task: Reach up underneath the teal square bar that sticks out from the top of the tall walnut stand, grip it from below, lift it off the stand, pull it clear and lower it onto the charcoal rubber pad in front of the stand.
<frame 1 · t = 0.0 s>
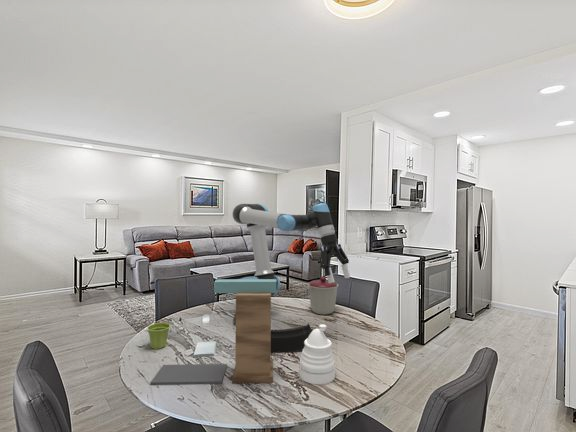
hand: (339, 280, 139), 28 cm above the table, tool tilted 20°, fingers open, 13 cm apart
pad: (191, 374, 109), on the table
honey pot: (317, 375, 110), on the table
teal square bar: (245, 291, 110), point 30 cm above the table, touching stand
magazine: (282, 351, 128), on the table
plant pot: (158, 346, 132), on the table
stand: (253, 373, 110), on the table
canister: (322, 312, 179), on the table
hard drive: (205, 351, 129), on the table
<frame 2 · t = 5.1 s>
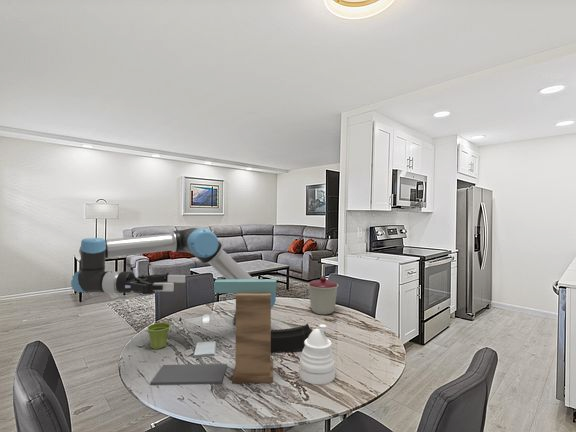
hand: (179, 282, 111), 33 cm above the table, tool horizontal, fingers open, 13 cm apart
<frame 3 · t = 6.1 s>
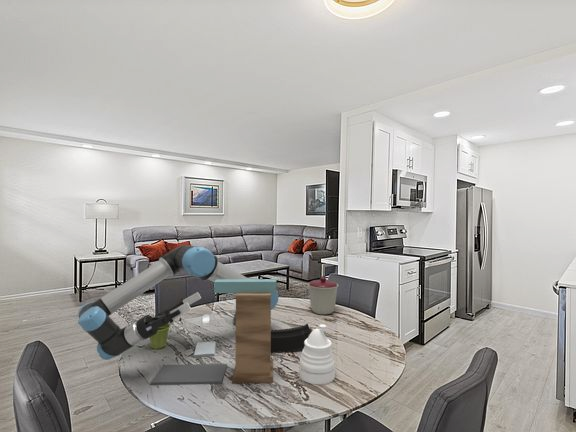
hand: (194, 300, 109), 27 cm above the table, tool pointing upward, fingers open, 13 cm apart
nothing on the table moved.
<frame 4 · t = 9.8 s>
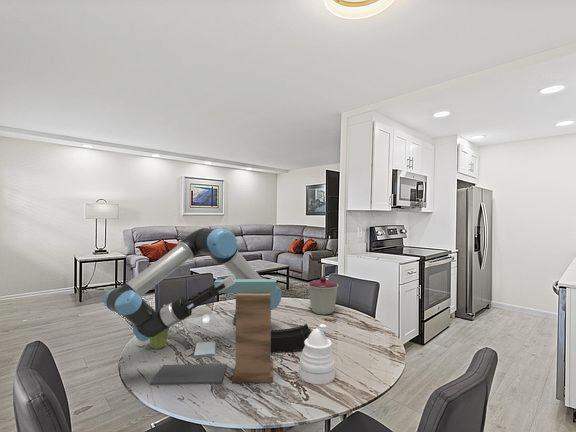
hand: (233, 278, 109), 35 cm above the table, tool pointing upward, fingers closed on teal square bar, 4 cm apart
teal square bar: (245, 291, 110), point 30 cm above the table, touching gripper, stand
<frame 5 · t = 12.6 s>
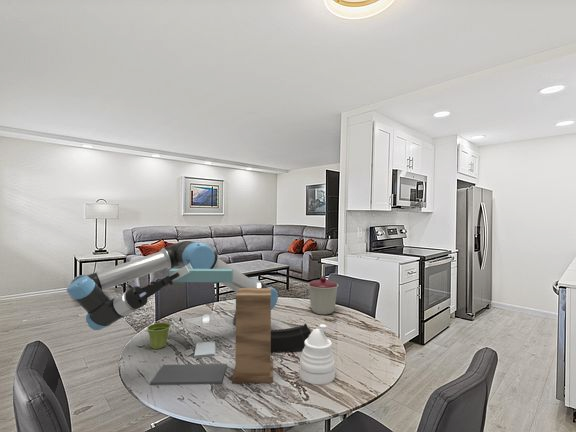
hand: (189, 267, 109), 39 cm above the table, tool pointing upward, fingers closed on teal square bar, 4 cm apart
teal square bar: (201, 280, 109), point 34 cm above the table, touching gripper
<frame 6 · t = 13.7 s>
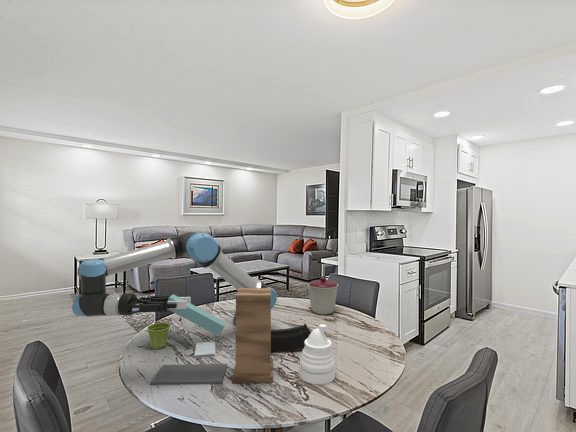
hand: (188, 302, 109), 26 cm above the table, tool horizontal, fingers closed on teal square bar, 4 cm apart
teal square bar: (192, 319, 109), point 20 cm above the table, tilted 29°, touching gripper
when the fingers open (14 cm above the table, at t = 15.8 s): teal square bar drops 7 cm, resting on pad.
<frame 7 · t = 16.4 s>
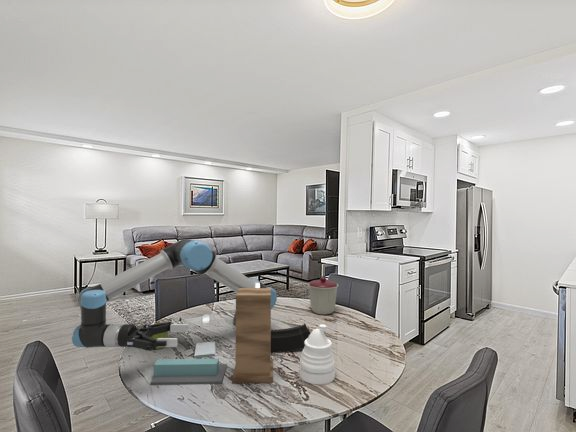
hand: (182, 334, 109), 15 cm above the table, tool horizontal, fingers open, 12 cm apart
teal square bar: (186, 372, 109), point 1 cm above the table, touching pad
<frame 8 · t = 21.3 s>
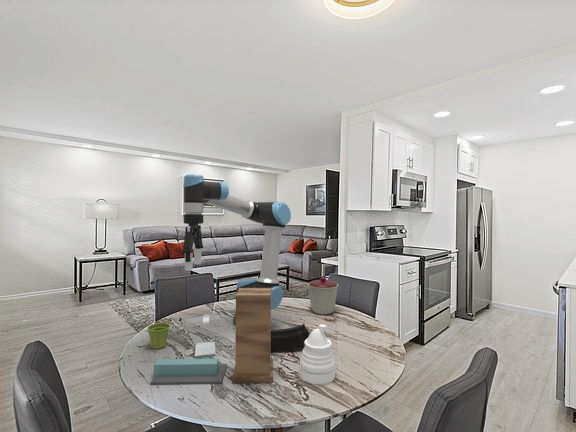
hand: (193, 267, 121), 37 cm above the table, tool pointing down, fingers open, 13 cm apart
at the end: teal square bar inside the target area (1.0 cm from its centre), point 0.8 cm above the table; teal square bar touching pad; the gripper is holding nothing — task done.
